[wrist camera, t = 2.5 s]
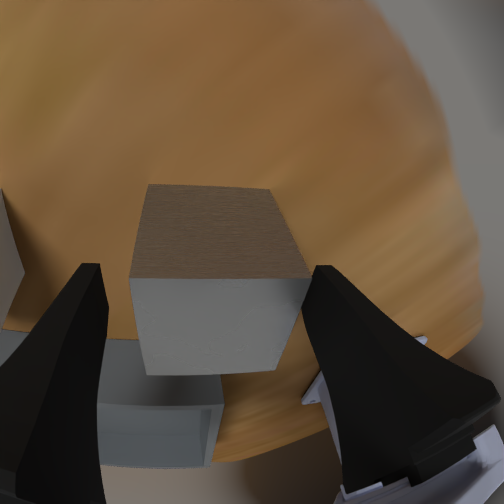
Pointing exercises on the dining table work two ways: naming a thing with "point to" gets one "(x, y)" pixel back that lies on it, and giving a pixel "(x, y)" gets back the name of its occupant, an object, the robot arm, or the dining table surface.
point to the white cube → (8, 264)
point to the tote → (148, 410)
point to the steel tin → (214, 280)
